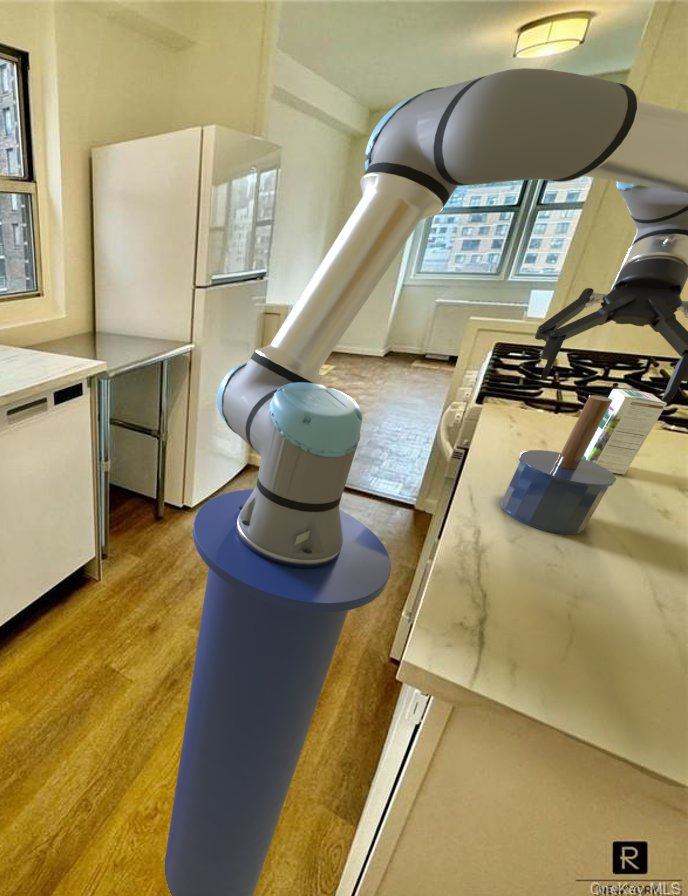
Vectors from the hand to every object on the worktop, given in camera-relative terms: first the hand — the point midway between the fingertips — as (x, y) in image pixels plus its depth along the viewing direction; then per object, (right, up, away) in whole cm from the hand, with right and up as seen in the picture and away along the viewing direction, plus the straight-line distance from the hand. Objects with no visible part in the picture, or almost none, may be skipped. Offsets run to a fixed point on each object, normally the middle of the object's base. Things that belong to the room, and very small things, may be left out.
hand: (602, 385), depth 73 cm
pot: (-5, -20, +5) cm, 21 cm away
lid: (-5, -13, +1) cm, 14 cm away
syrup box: (+20, -13, +20) cm, 31 cm away
